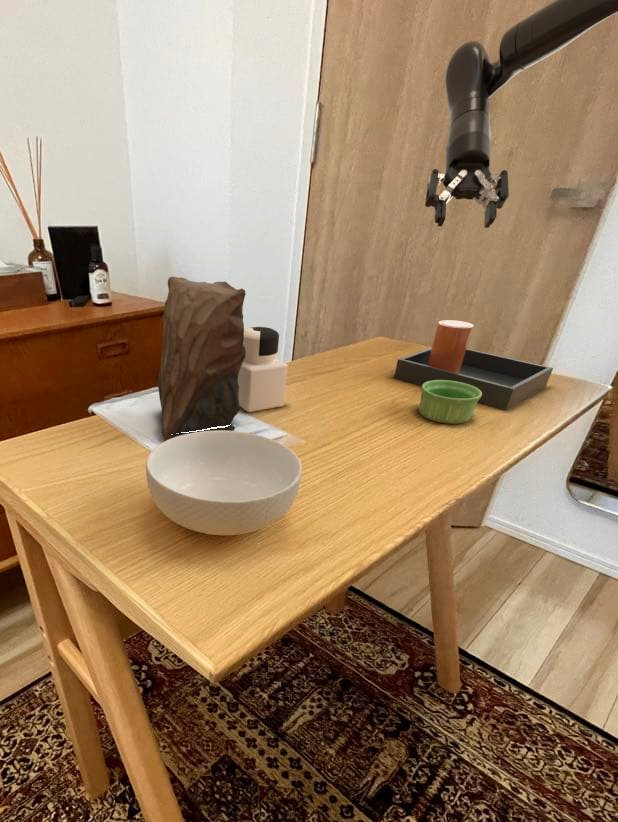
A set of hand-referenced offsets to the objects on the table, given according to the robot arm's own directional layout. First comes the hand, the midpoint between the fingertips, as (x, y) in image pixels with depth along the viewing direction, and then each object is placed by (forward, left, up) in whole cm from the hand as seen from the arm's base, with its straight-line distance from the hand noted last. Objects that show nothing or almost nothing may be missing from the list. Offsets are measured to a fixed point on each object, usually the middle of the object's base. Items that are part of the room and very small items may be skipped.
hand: (465, 223), depth 92 cm
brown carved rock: (+63, -6, -25) cm, 68 cm away
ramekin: (+28, +18, -25) cm, 41 cm away
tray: (+9, +13, -25) cm, 29 cm away
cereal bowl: (+76, +16, -25) cm, 81 cm away
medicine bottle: (+48, -6, -25) cm, 54 cm away
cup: (+9, +7, -24) cm, 27 cm away
